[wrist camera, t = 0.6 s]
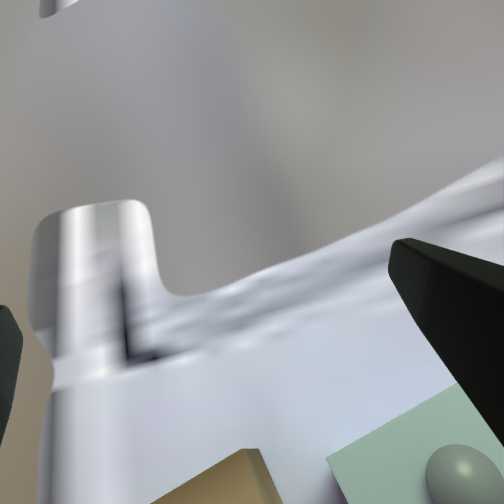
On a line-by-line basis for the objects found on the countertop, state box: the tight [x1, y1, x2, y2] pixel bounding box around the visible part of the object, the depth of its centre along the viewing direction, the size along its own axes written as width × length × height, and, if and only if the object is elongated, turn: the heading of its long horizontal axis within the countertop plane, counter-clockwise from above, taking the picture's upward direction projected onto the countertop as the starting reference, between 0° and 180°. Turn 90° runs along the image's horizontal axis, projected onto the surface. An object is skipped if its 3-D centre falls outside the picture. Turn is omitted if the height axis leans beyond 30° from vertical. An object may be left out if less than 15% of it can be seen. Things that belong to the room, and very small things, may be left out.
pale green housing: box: [326, 383, 504, 504], centre depth 15 cm, size 6×8×6 cm
